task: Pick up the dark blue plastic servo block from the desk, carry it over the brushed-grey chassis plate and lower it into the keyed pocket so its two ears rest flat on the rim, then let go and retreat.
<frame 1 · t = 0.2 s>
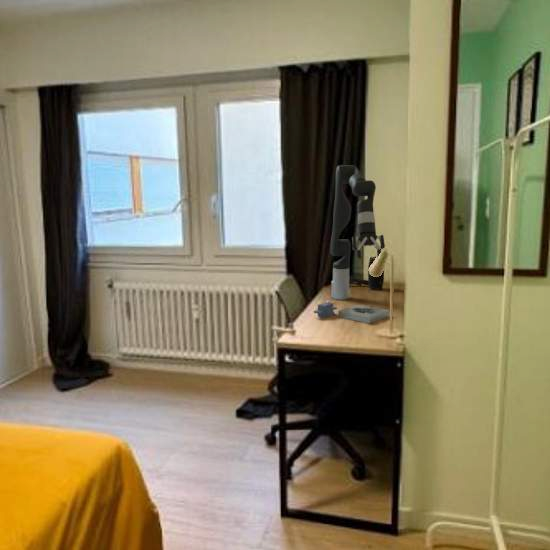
hand: (369, 258, 223), 31 cm above the table, tool tilted 20°, fingers open, 8 cm apart
chassis: (363, 316, 244), on the table
servo: (325, 315, 247), on the table
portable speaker: (375, 289, 304), on the table
adjustable wrench: (356, 286, 314), on the table
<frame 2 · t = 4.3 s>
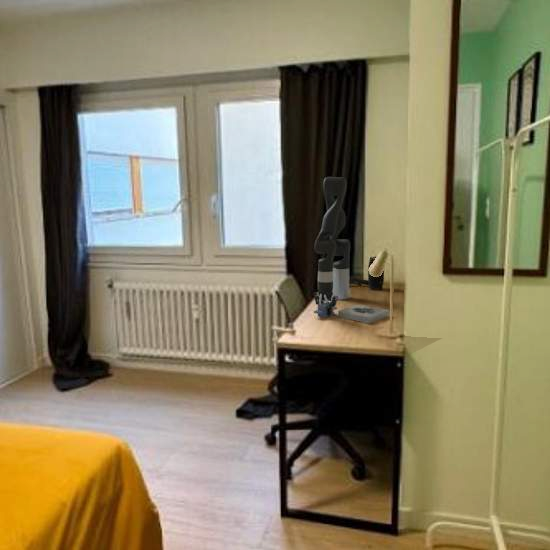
hand: (325, 314, 247), 1 cm above the table, tool pointing down, fingers closed on servo, 4 cm apart
servo: (325, 315, 247), on the table, touching gripper
everything else where it was.
when the fingers open (2 cm above the table, at t = 9.1 s): servo stays where it is, resting on chassis.
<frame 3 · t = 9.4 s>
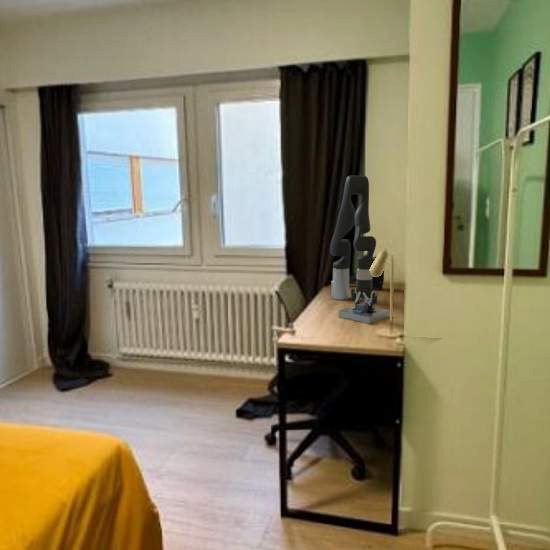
hand: (363, 311, 244), 3 cm above the table, tool pointing down, fingers open, 6 cm apart
servo: (363, 315, 244), resting on chassis
everything else where it was.
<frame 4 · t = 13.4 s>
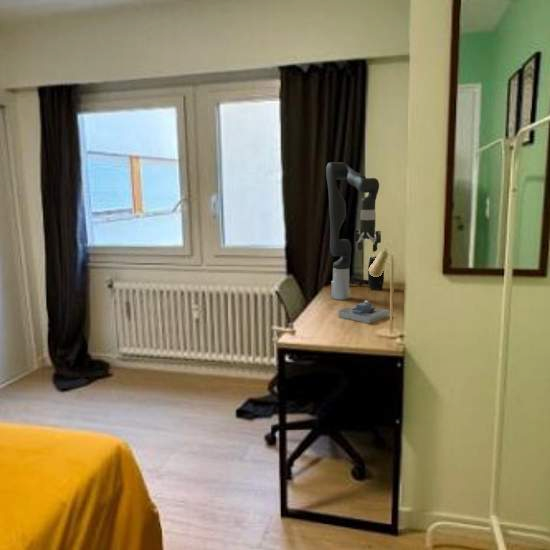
hand: (367, 250, 254), 30 cm above the table, tool pointing down, fingers open, 8 cm apart
nothing on the table moved.
at the end: servo 0.0 cm off-centre on the chassis, point 0.4 cm above the chassis's base; servo tilted 0°; the gripper is holding nothing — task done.
